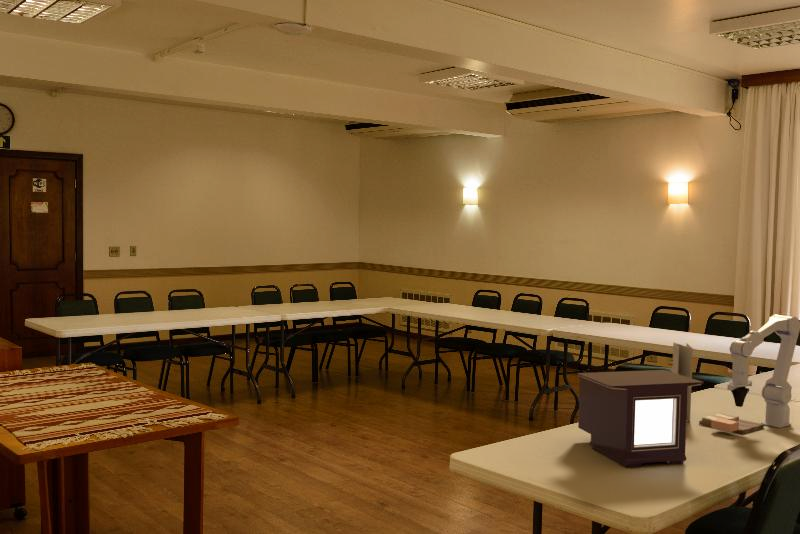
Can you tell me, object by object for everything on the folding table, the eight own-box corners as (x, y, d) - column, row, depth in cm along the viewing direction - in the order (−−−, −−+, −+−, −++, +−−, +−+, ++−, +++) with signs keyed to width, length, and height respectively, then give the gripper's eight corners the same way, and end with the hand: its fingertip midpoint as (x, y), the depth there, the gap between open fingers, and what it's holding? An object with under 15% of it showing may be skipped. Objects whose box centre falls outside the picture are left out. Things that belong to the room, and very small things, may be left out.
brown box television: (702, 463, 261) (705, 382, 260) (609, 470, 252) (611, 386, 251) (642, 435, 295) (645, 364, 294) (558, 440, 286) (560, 367, 284)
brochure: (690, 422, 317) (692, 348, 315) (675, 421, 318) (678, 347, 316) (684, 413, 331) (687, 343, 329) (671, 413, 332) (673, 342, 330)
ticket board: (721, 418, 323) (721, 412, 323) (763, 428, 309) (763, 421, 308) (699, 424, 313) (699, 417, 313) (742, 434, 299) (742, 427, 299)
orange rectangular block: (719, 425, 305) (720, 417, 305) (738, 429, 299) (739, 422, 299) (711, 427, 301) (711, 420, 301) (730, 432, 295) (730, 424, 295)
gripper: (740, 368, 312) (739, 401, 312) (720, 372, 303) (719, 406, 304) (757, 370, 306) (756, 405, 307) (737, 374, 297) (736, 410, 298)
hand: (739, 406), depth 305 cm, fingers closed
